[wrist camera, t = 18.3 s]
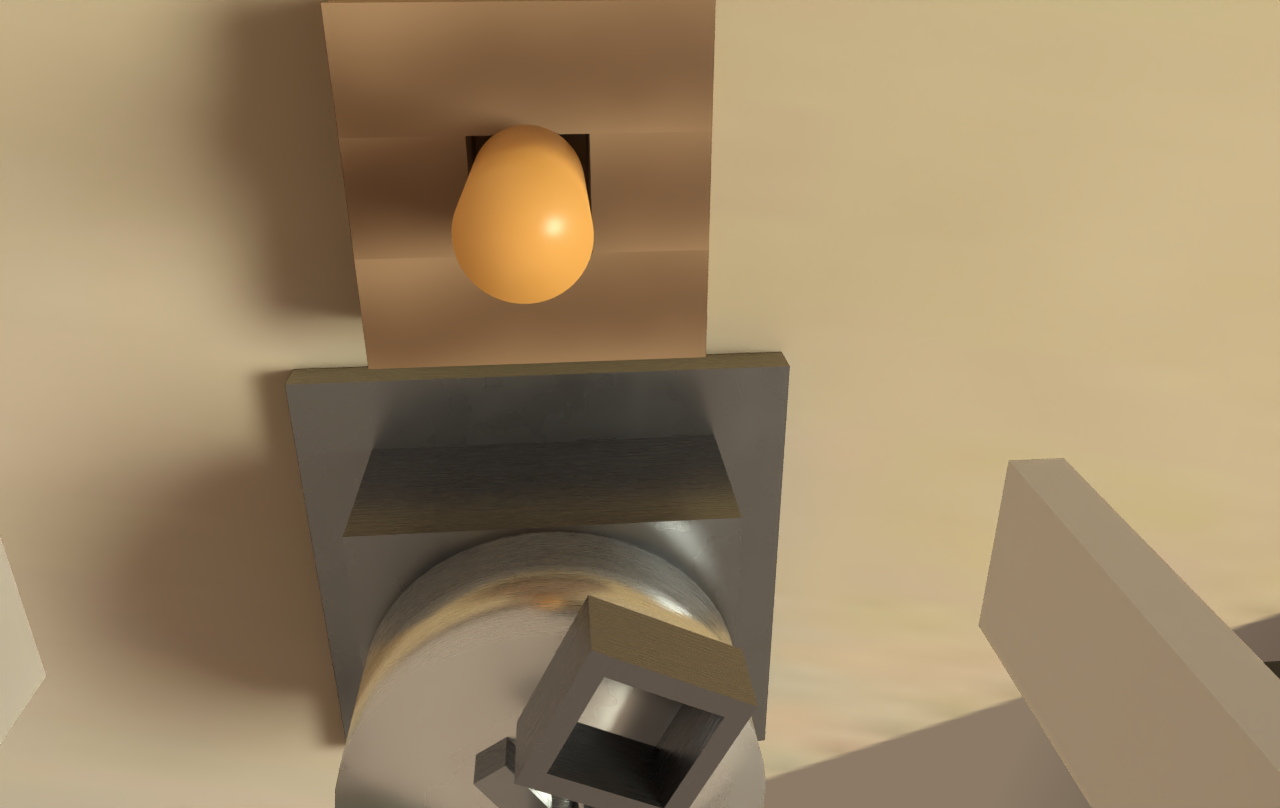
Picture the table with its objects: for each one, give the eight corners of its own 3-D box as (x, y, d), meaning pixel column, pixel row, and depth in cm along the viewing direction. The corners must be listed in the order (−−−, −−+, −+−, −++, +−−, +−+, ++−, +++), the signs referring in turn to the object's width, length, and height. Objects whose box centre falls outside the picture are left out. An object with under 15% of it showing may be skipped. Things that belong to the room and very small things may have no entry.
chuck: (461, 449, 33) (435, 610, 25) (817, 585, 37) (891, 763, 29) (312, 766, 38) (251, 980, 30) (636, 857, 42) (656, 1070, 34)
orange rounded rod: (475, 107, 35) (443, 168, 24) (576, 102, 36) (589, 160, 25) (486, 208, 37) (459, 308, 26) (582, 202, 37) (597, 299, 26)
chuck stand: (293, 369, 40) (238, 464, 33) (781, 351, 42) (831, 439, 34) (356, 744, 49) (322, 885, 41) (758, 718, 50) (794, 850, 43)
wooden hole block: (350, -7, 34) (320, 2, 30) (693, -9, 35) (715, -1, 31) (388, 319, 39) (368, 369, 35) (687, 310, 40) (705, 357, 36)
